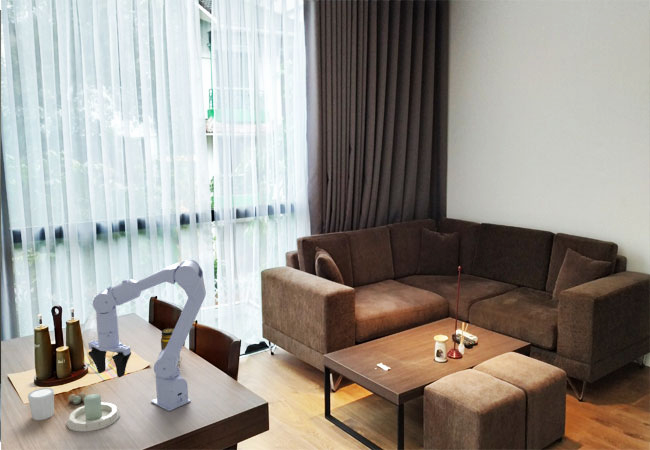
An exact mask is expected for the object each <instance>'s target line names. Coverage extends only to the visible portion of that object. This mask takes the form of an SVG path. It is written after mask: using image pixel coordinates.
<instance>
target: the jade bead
mask: <svg viewBox="0 0 650 450" xmlns="http://www.w3.org/2000/svg"><path fill="white" fill-rule="evenodd" d="M87 395H88V396H86V397H85V398H84V402H83V403H84V404H83V406H85V417H86V420H87V421H94V420H98V419H100V418H101V417H102V407H101V402H102V398H101V394H99V393H91V394H87Z"/></svg>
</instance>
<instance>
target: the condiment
mask: <svg viewBox="0 0 650 450" xmlns="http://www.w3.org/2000/svg"><path fill="white" fill-rule="evenodd" d="M174 329H175V328H174V327H173V328H171V327H170V328H165V329H163V330H162V331H161V338H160V347H161V348H160V349H161V351H162V350H163V349H165V348H166V346H167V344H168V342H169V340H170V337H171V335H172V333H173V331H174ZM161 351H160V352H161ZM181 360H182V357H181V356H180V360H179V361H180V362H178V364H177V366H180V364H181Z"/></svg>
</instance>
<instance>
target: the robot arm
mask: <svg viewBox="0 0 650 450" xmlns="http://www.w3.org/2000/svg"><path fill="white" fill-rule="evenodd" d="M204 279H205V278H204V271H203V269H202V268H201V266H200V264H199V263H198V262H197V261H196V260H193V259H185V260H183V261H182V262H179V261H178V262H176V263H173V264H171V265H168V266H166V267H164V268H162V269H159V270H158V271H156V272H153V273H151V274H149V275H147V276H145V277H143V278H140V279H139V280H135V279H133V278H131V279H127V278H126V279H123V280H122V281H121V283H119V284H117V285H115V286H108V287H107V288H106V289H103V290H101V291H100V292H99V293H98V294H97V295H95V297H94V299H93V300H92V307H93V309H94V310H95V313H96V314H95V315H96V330H97V340H91V341H89V342H88V349H89V350H90V351H88V356H89V357H90V358H91V359H92V361H93V363H94V365H95V368H96V370H97V373H98V374H102V373H103V372H106V359H107V358H106V357H107V356H106V355H107V352H112V353H117V354H114V355H112V357H111V358H112V361H114V362H113V363H114V365H115V371H116V376H117V378H122V377H123V376H125V373H126V368H127V364H128V361H129V359H130V357H131V355H132V351H131V346H129V345H128V346H127V345H125V344H123V343H122V341H121V340H120V337H119V335H120V334H119V324H118V323H119V322H118V313H117V307H118V306H121V305H124V304H125V303H128V302H131V301H133V300H135V299H137V298H139V297H140V296H141V293H142V292H143V291H145V290H148V289H151V288H153V287H156V286H158V285H161V284H163V283H169V284H172V285H175V283H177V285H178V286H179V287H180V288H181V289H183V290H184V292H185V294H186V296H187V300H186V302H185V305H184V307H183V309H182V311H181V313H180V315H179V318H178V320H177V322H176V324H175V327H174V328H173V329H174V331H173V333H172V335H171V337H170V340H169V342H168V344H167V346H166V348H165V349H163V350H162V351H160V352H159V355H158V358H157V359H156V361H155V363H154V366H153V372H154V374H155V387H156V388H155V389H156V398H154V399H151V400H150V402H151V403H152V404H154V405H156V406H158V407H161V408H162V409H164V410H166V411H168V412H170V411H173V410H176V409H177V408H179V407H181V406H183V405H186V404H188V403H190V402H191V401H192V399H190V398H189V391H188V390H189V388H188V382H187V380H186V379H185V378H183V376H182V374H181V369H180V367H179V365H177V364H178V362H179V360H180V357H181V354H180V353H181V351H182V349H183V346H184V344H185V341H186V340H187V338H188V335H189V333H190V331H191V329H192V327H193V325H194V322H195V321H196V318H197V316H198V313H199V312H200V309H201V308H202V304H203V302H204V300H205V298H206V284H205V280H204Z"/></svg>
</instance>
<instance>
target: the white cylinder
mask: <svg viewBox="0 0 650 450" xmlns="http://www.w3.org/2000/svg"><path fill="white" fill-rule="evenodd" d="M27 399H28V403H29V407H30V409H29V410H30V413H31V418H32V420H35V421H43V420H47V419H49V418H51V417H52V416H53V415H54V413H55V390H54V388H52V387H51V388H50V387H44V388H43V387H42V388H39V389H34V390H33V391H30V392H29V393H28V395H27Z"/></svg>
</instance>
